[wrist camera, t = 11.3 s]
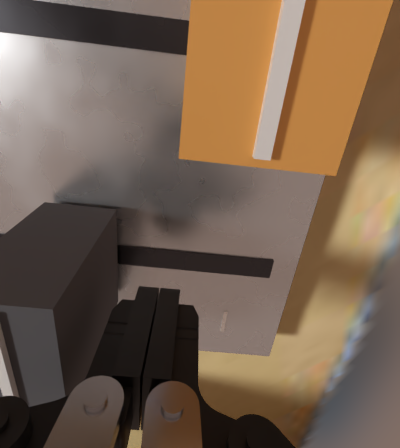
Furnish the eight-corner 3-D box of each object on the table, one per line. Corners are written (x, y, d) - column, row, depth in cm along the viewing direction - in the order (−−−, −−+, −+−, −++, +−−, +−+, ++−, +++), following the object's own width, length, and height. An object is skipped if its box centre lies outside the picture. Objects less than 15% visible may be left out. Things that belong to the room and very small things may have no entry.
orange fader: (206, -62, 9) (213, -310, 3) (306, -48, 9) (487, -260, 3) (189, 117, 11) (177, 161, 5) (270, 127, 11) (340, 179, 5)
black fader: (44, 202, 12) (-84, 304, 7) (116, 209, 13) (48, 315, 7) (57, 295, 15) (-32, 429, 9) (118, 300, 15) (67, 436, 9)
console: (-137, -289, 8) (-236, -396, 6) (409, -196, 9) (464, -268, 7) (5, 307, 18) (-18, 334, 16) (262, 329, 19) (269, 357, 17)
